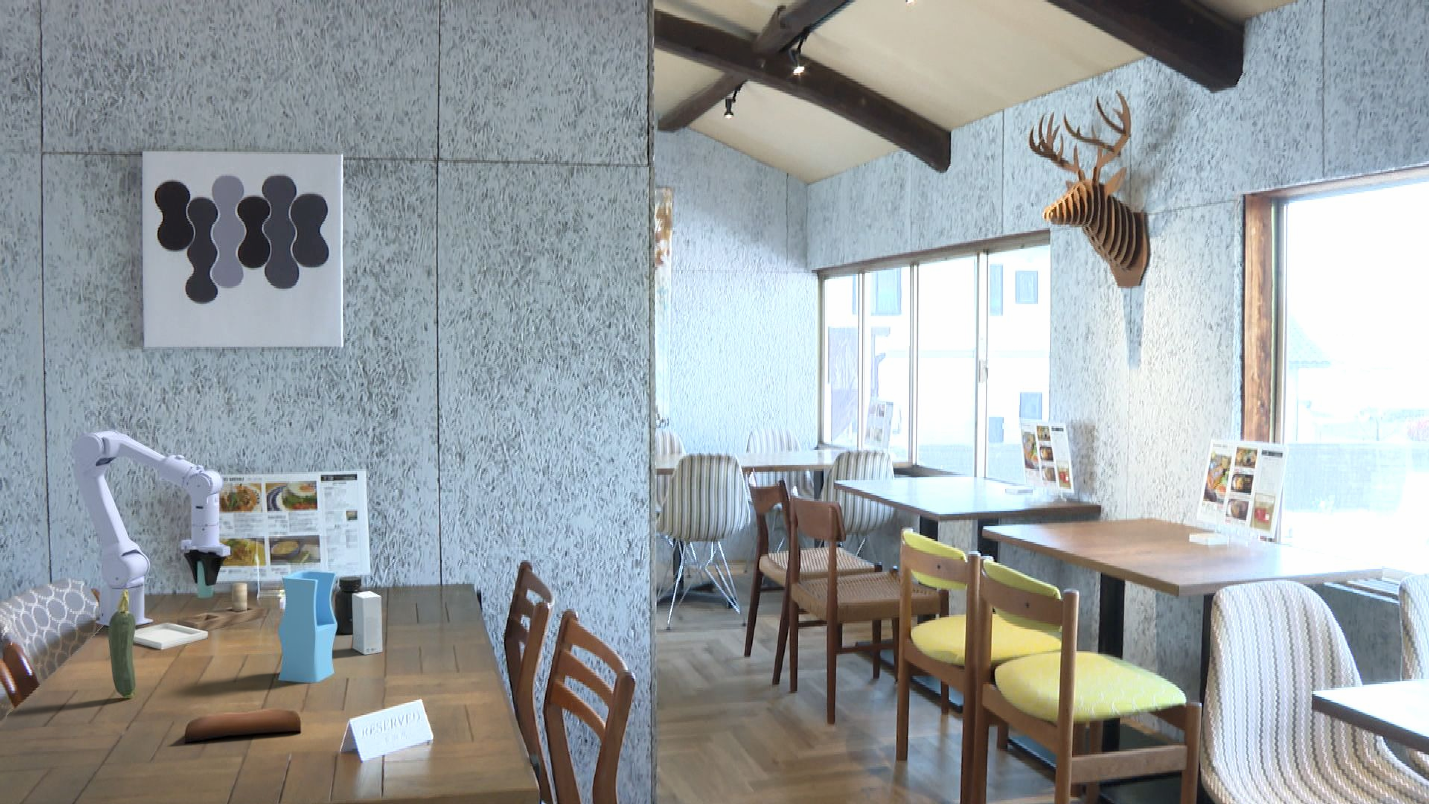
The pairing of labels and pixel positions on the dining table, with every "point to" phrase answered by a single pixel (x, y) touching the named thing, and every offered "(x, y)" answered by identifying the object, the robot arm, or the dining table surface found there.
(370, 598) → the skincare box
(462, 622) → the dining table surface
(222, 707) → the dining table surface
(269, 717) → the sunglasses case
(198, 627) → the rack
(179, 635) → the tray
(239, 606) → the birch dowel
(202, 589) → the teal dowel
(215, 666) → the dining table surface
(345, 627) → the supplement bottle
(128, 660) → the vegetable
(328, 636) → the vase
